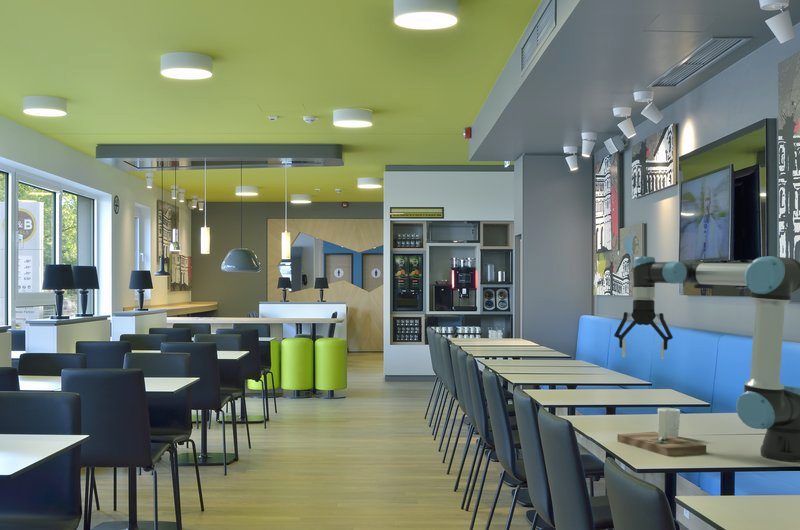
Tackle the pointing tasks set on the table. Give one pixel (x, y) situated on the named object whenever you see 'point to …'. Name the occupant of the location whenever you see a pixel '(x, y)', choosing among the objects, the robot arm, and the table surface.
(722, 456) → the table surface
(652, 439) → the wooden cutting board
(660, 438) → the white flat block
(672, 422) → the white cup
